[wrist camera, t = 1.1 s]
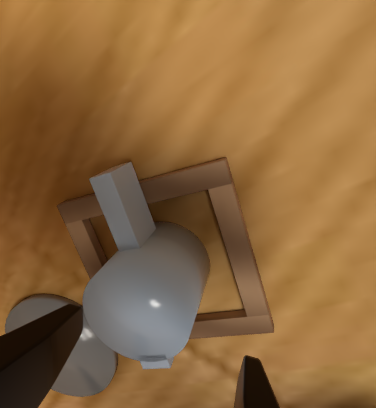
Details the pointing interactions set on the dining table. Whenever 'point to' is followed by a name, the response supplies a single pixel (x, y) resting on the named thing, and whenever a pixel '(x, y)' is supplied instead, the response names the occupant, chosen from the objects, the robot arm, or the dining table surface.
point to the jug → (144, 276)
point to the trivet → (82, 353)
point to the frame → (231, 232)
